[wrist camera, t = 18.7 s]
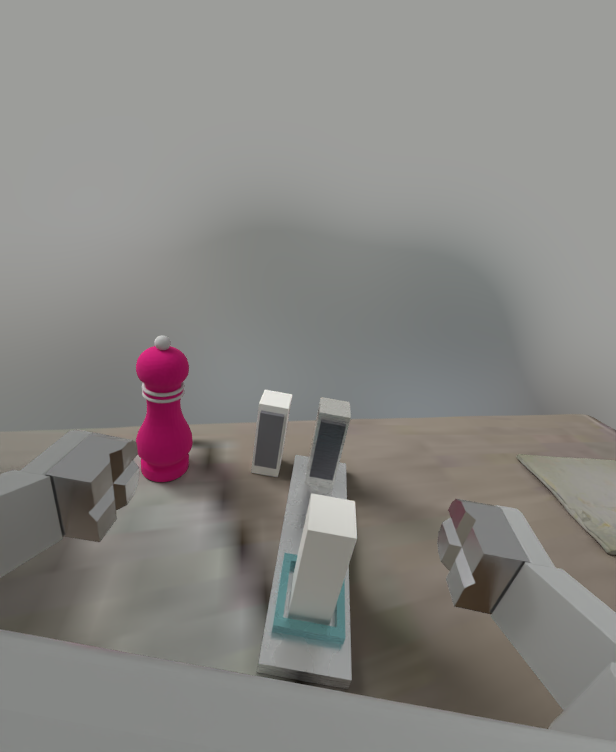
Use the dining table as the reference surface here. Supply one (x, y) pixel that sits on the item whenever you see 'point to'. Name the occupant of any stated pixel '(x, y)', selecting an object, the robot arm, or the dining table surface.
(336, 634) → the rail
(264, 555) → the dining table surface
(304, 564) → the tall white upright block
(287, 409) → the block
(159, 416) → the pepper mill
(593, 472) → the decorative slab
